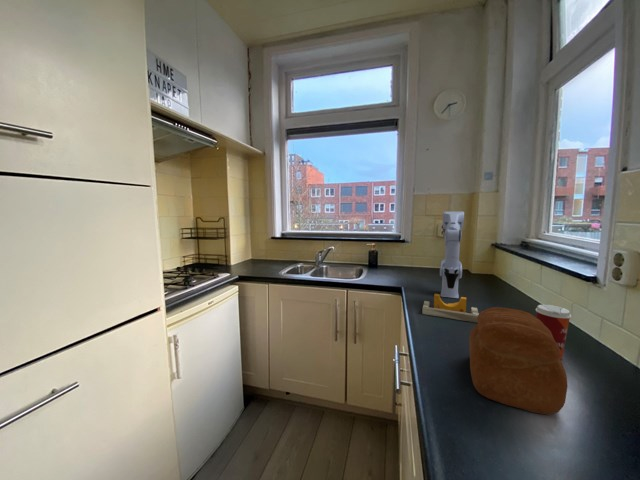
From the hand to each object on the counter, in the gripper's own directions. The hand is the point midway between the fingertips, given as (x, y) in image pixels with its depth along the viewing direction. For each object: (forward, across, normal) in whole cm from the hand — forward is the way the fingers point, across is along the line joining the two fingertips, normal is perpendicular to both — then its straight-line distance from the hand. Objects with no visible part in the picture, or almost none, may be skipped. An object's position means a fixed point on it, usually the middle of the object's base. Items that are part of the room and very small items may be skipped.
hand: (450, 286), depth 116 cm
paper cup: (+9, +34, +26) cm, 44 cm away
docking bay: (+9, +12, 0) cm, 15 cm away
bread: (+10, +54, +12) cm, 56 cm away
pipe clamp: (+9, +7, 0) cm, 12 cm away
